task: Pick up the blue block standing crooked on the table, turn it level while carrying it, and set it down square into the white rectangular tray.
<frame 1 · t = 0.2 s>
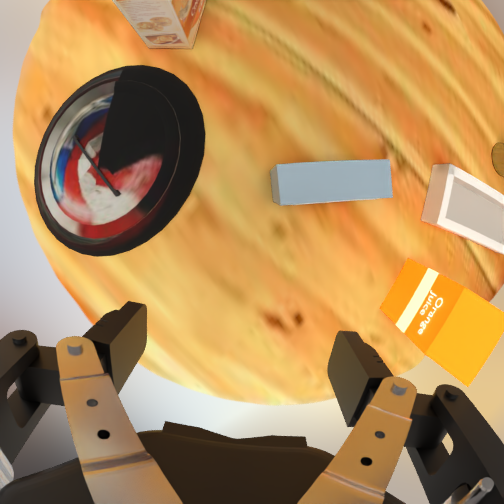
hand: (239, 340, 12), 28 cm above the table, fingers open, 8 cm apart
vase: (500, 159, 37), on the table
blue block: (316, 182, 38), on the table
coffeecake box: (182, 11, 32), on the table
wall clock: (108, 159, 38), on the table
orange juice: (409, 292, 41), on the table
white rectangular tray: (470, 212, 38), on the table
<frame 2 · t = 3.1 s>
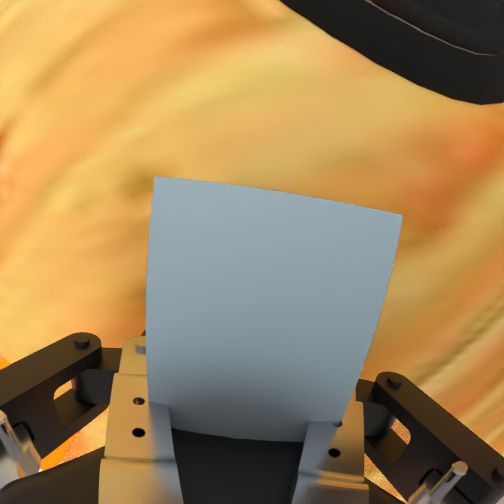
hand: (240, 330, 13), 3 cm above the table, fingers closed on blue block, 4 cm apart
blue block: (244, 306, 15), on the table, touching gripper
orange juice: (32, 410, 18), on the table
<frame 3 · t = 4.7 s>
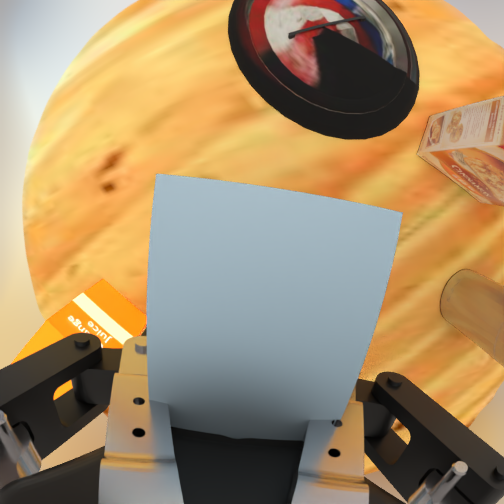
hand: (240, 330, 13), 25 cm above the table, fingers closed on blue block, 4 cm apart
blue block: (244, 305, 15), point 22 cm above the table, touching gripper
coffeecake box: (457, 161, 35), on the table
wall clock: (328, 40, 32), on the table
orange juice: (114, 315, 39), on the table
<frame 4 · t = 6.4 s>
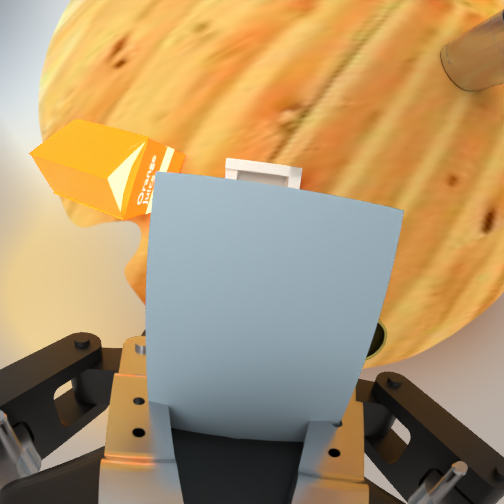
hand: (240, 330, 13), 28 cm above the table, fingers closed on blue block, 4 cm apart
vase: (331, 292, 42), on the table
blue block: (244, 304, 15), point 25 cm above the table, touching gripper
orange juice: (148, 171, 38), on the table
white rectangular tray: (253, 240, 40), on the table
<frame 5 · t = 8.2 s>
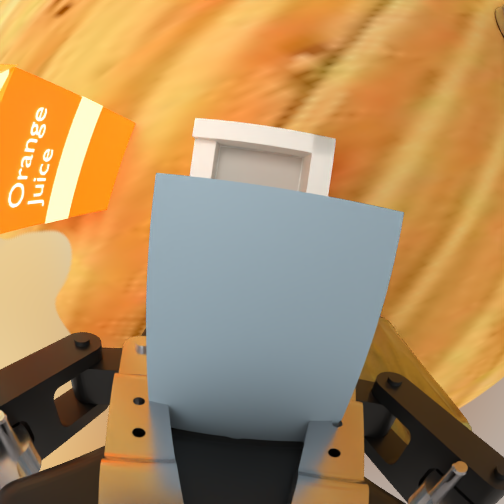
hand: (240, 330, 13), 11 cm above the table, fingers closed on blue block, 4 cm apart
vase: (364, 343, 25), on the table
blue block: (244, 305, 15), point 8 cm above the table, touching gripper
orange juice: (81, 153, 22), on the table
white rectangular tray: (244, 265, 24), on the table
when the fingers open (5 cm above the table, at t = 9.8 s): blue block stays where it is, resting on white rectangular tray.
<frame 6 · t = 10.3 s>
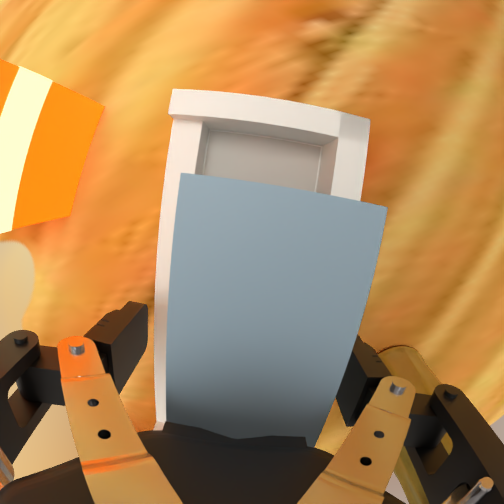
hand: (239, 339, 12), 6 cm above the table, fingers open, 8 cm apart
vase: (388, 377, 20), on the table
blue block: (247, 297, 16), point 2 cm above the table, touching white rectangular tray
orange juice: (42, 146, 16), on the table
white rectangular tray: (243, 289, 18), on the table
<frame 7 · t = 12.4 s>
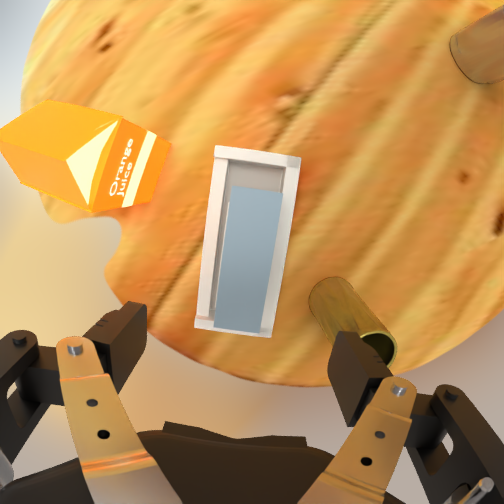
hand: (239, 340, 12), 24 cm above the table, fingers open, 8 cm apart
vase: (331, 298, 37), on the table
blue block: (247, 241, 34), point 2 cm above the table, touching white rectangular tray
orange juice: (130, 162, 33), on the table
white rectangular tray: (245, 239, 35), on the table
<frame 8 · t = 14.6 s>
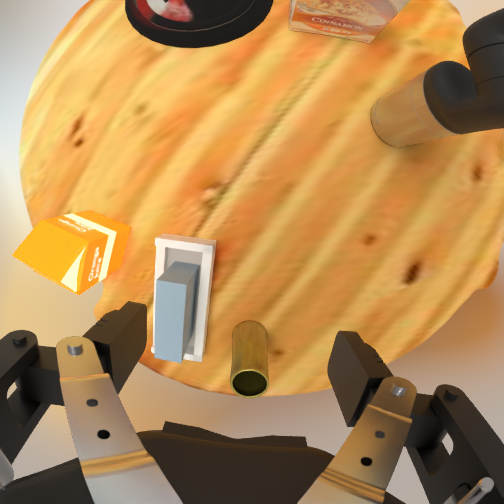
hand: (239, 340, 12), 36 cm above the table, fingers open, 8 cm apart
vase: (249, 335, 51), on the table
blue block: (184, 297, 48), point 2 cm above the table, touching white rectangular tray
coffeecake box: (330, 22, 39), on the table
orange juice: (105, 238, 48), on the table
white rectangular tray: (184, 294, 49), on the table
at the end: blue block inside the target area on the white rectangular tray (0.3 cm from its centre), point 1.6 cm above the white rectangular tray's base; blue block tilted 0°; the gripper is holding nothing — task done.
